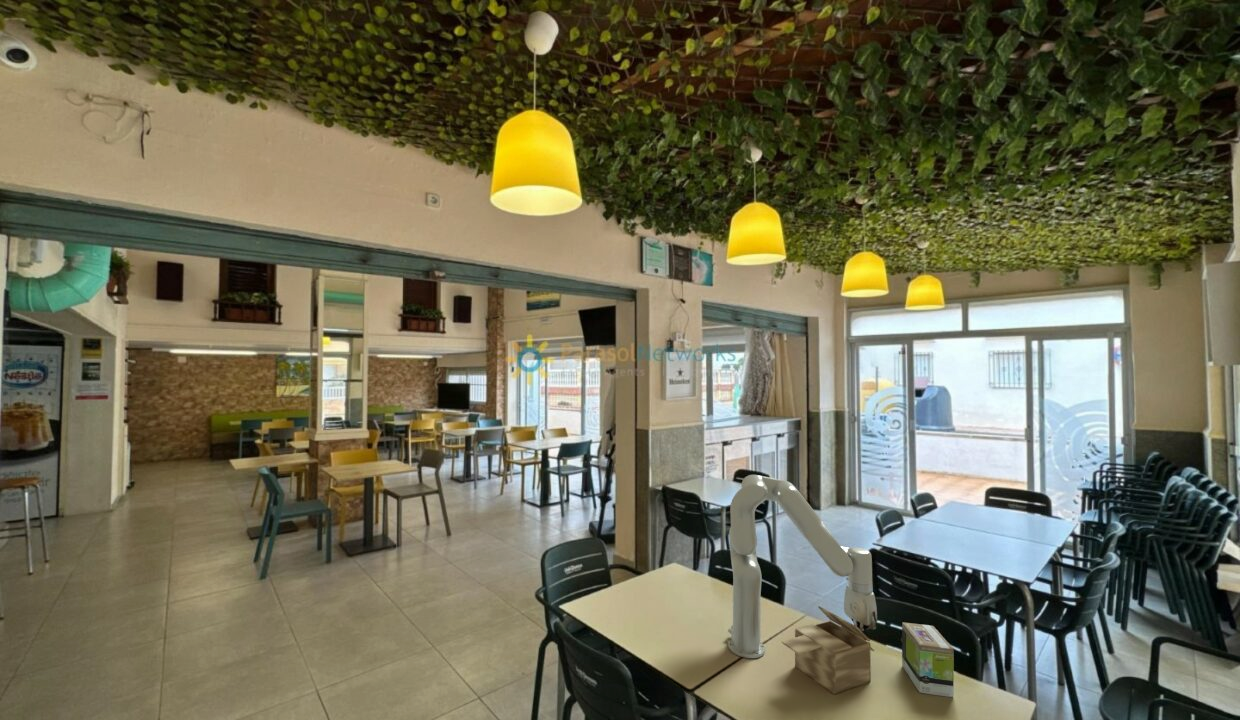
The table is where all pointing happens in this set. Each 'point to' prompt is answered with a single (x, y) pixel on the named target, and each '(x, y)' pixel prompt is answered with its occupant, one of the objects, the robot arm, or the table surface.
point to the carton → (837, 661)
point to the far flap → (845, 625)
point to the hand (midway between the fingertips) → (861, 640)
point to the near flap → (815, 640)
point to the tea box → (928, 659)
